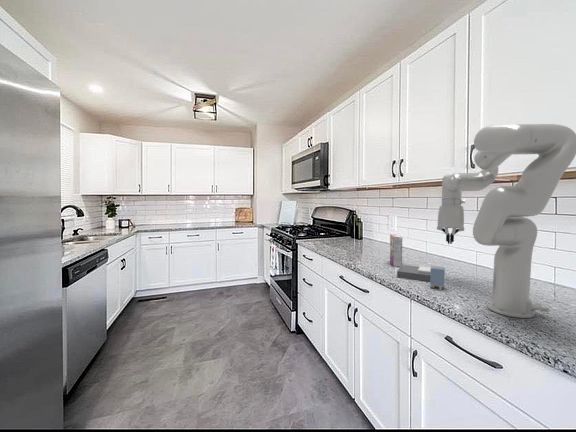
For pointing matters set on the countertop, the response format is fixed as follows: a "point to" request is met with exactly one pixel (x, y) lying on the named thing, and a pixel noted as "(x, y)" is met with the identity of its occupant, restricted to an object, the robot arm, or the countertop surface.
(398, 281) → the countertop surface
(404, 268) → the socket
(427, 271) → the shutter
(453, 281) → the countertop surface
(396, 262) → the candy bar box
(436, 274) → the plug
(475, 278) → the countertop surface
